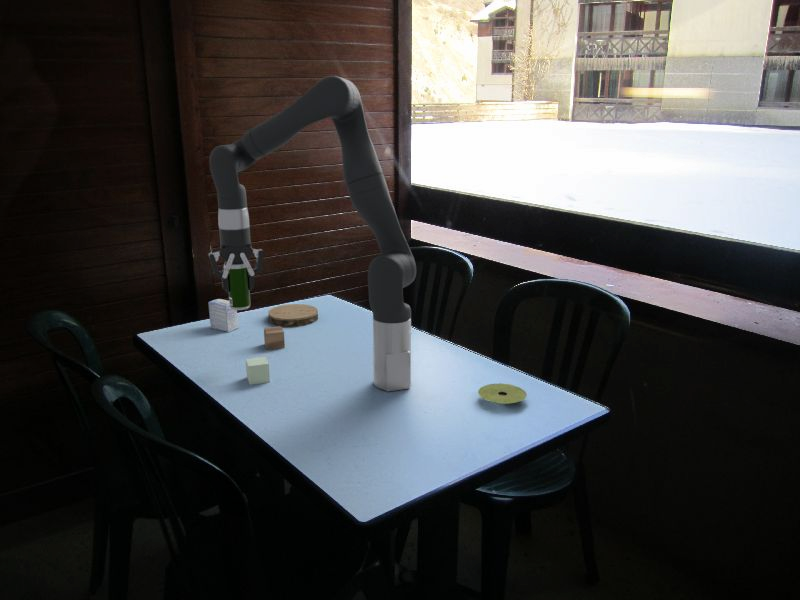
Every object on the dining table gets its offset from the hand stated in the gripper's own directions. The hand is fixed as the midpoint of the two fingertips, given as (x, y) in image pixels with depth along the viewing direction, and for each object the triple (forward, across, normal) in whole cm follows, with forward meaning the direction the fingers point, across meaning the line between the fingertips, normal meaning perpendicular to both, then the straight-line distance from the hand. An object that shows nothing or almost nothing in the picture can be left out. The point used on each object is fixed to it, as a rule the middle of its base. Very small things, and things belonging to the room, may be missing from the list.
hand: (239, 290), depth 171 cm
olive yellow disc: (+21, +54, -44) cm, 73 cm away
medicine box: (+21, -2, +32) cm, 38 cm away
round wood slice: (+21, +20, +34) cm, 45 cm away
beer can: (+5, 0, 0) cm, 5 cm away
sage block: (+21, +2, -12) cm, 24 cm away
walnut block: (+21, +10, +11) cm, 25 cm away
